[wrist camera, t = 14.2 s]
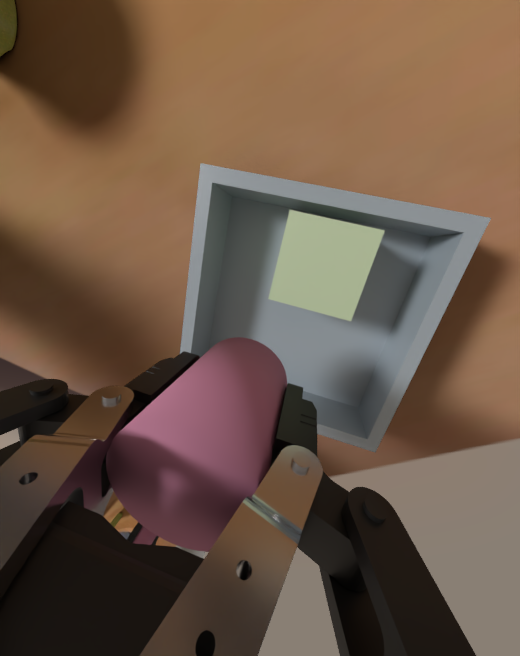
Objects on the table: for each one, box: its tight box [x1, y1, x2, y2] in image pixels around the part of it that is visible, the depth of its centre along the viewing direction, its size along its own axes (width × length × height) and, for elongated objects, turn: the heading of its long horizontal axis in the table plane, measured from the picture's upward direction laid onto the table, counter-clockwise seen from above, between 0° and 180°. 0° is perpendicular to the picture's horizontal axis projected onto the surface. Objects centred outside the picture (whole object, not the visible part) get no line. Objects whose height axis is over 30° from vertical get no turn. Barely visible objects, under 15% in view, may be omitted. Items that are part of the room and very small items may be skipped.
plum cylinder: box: [106, 337, 287, 552], centre depth 9 cm, size 4×4×6 cm
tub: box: [180, 163, 491, 452], centre depth 17 cm, size 15×15×4 cm
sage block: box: [268, 210, 385, 321], centre depth 14 cm, size 5×5×5 cm
